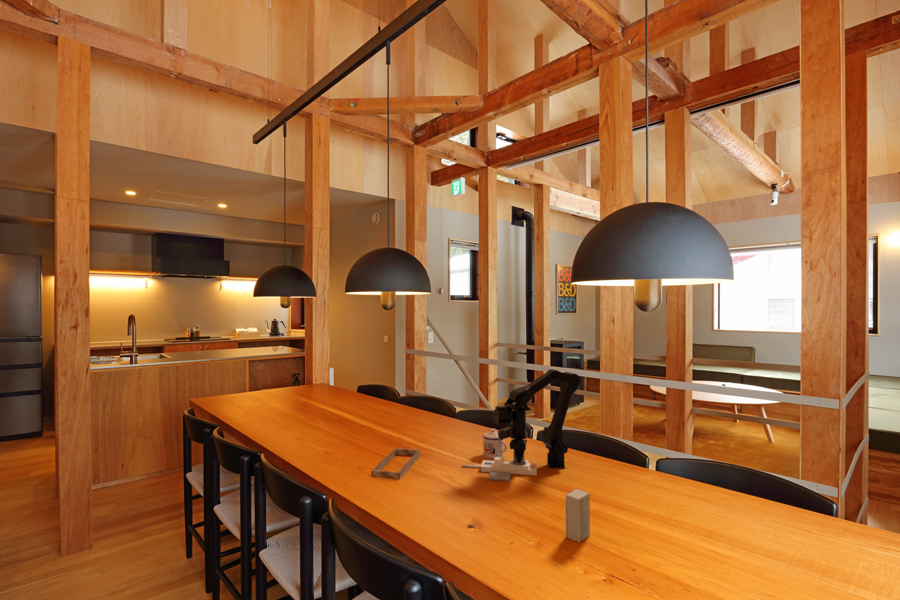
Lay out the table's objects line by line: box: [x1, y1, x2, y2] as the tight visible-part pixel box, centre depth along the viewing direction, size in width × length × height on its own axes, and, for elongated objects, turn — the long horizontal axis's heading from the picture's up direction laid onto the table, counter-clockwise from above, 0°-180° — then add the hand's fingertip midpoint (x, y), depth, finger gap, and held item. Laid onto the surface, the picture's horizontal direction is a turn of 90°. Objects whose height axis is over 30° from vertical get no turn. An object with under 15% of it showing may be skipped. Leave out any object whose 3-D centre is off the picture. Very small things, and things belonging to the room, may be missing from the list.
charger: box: [513, 449, 525, 465], centre depth 177 cm, size 4×4×6 cm
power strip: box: [461, 456, 538, 476], centre depth 179 cm, size 30×8×4 cm, turn 78°
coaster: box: [487, 471, 512, 482], centre depth 171 cm, size 8×8×1 cm
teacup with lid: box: [482, 428, 508, 459], centre depth 195 cm, size 12×9×12 cm
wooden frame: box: [370, 447, 421, 480], centre depth 183 cm, size 12×29×2 cm, turn 168°
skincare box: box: [565, 488, 591, 543], centre depth 125 cm, size 6×4×12 cm
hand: (519, 460), depth 177 cm, fingers open, 4 cm apart
